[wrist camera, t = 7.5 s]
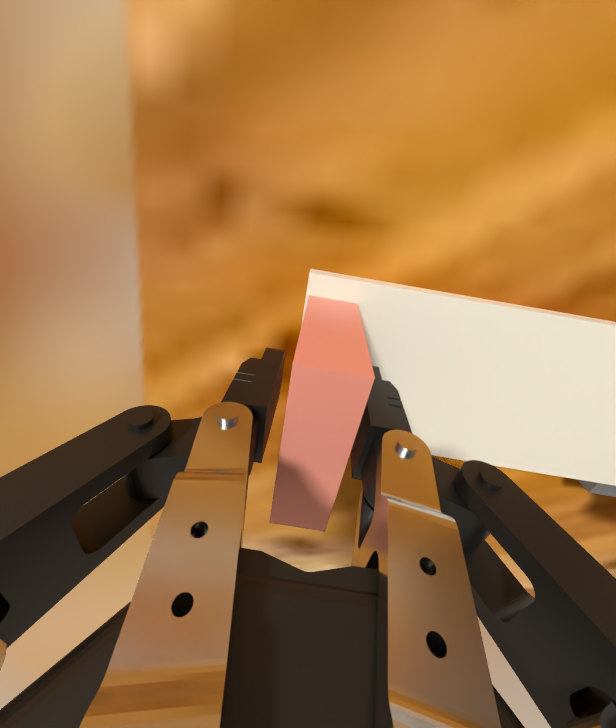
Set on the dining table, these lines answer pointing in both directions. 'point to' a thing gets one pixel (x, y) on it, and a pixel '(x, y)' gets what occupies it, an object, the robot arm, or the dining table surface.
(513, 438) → the pink-tipped cream block
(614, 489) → the dispenser
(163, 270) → the dining table surface
